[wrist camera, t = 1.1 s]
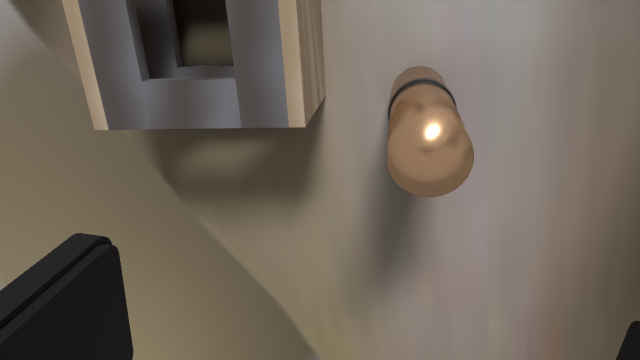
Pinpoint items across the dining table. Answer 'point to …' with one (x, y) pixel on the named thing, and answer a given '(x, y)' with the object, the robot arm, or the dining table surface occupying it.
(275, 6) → the collar stand
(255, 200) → the dining table surface
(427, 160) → the tan cylinder
